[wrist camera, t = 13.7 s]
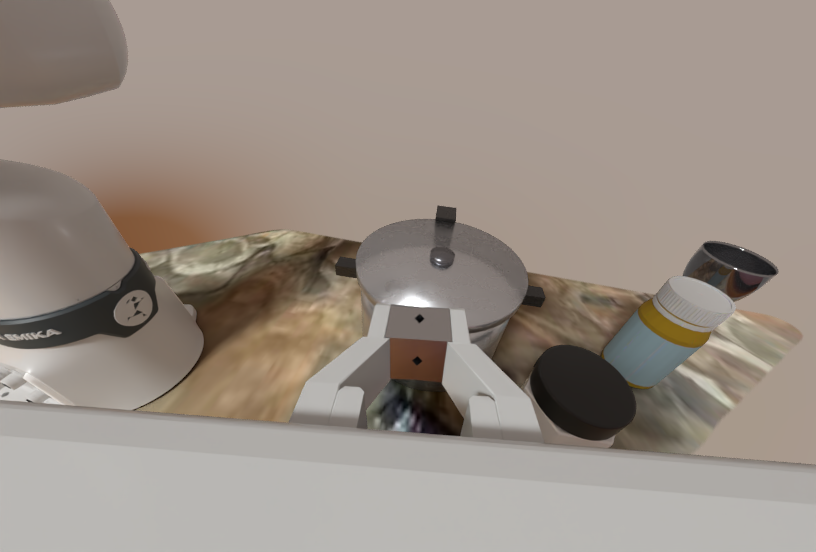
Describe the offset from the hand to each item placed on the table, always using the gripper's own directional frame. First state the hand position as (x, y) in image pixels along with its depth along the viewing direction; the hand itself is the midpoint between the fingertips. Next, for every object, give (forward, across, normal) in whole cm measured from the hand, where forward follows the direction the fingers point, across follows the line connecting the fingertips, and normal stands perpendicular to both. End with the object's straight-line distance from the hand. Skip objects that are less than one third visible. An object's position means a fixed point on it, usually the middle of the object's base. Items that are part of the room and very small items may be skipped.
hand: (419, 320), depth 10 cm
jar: (+11, -15, +27) cm, 33 cm away
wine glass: (+31, -42, +26) cm, 59 cm away
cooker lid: (+25, -3, +12) cm, 28 cm away
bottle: (+22, -30, +27) cm, 46 cm away
